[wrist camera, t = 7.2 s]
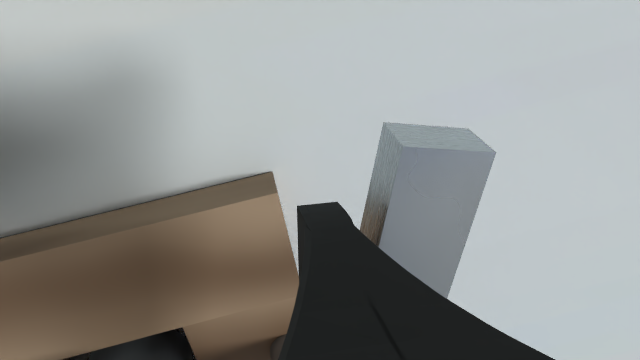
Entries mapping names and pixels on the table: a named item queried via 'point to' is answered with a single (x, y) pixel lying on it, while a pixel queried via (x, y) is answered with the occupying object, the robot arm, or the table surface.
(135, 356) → the plug
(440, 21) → the table surface
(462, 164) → the grey rectangular bar
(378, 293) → the robot arm
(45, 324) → the socket block
